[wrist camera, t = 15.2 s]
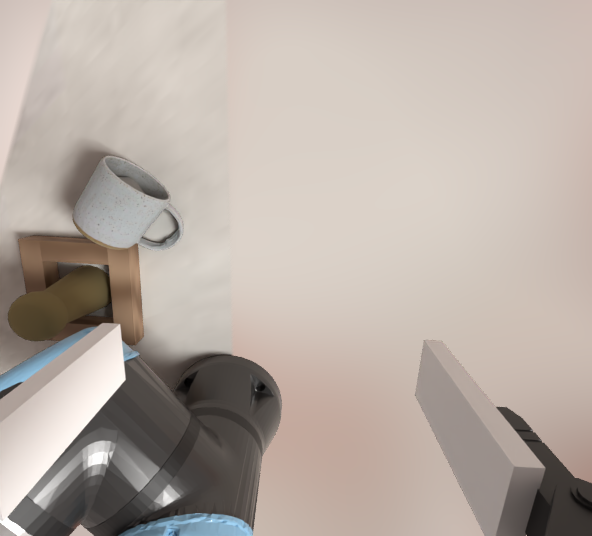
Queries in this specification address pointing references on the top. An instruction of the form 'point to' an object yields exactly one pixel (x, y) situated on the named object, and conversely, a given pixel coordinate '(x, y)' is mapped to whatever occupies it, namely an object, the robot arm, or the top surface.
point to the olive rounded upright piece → (60, 304)
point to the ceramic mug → (123, 206)
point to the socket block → (122, 263)
